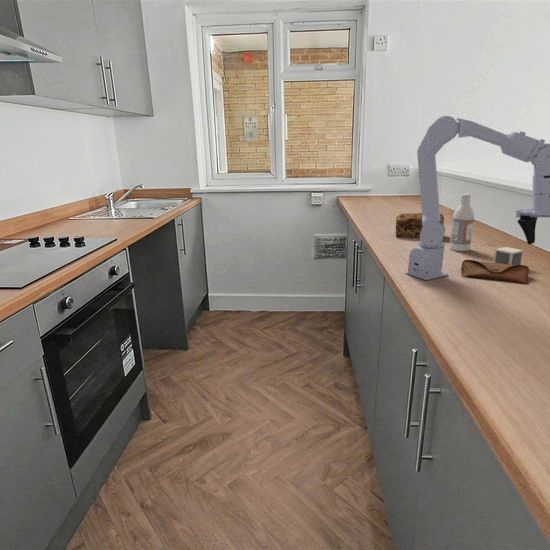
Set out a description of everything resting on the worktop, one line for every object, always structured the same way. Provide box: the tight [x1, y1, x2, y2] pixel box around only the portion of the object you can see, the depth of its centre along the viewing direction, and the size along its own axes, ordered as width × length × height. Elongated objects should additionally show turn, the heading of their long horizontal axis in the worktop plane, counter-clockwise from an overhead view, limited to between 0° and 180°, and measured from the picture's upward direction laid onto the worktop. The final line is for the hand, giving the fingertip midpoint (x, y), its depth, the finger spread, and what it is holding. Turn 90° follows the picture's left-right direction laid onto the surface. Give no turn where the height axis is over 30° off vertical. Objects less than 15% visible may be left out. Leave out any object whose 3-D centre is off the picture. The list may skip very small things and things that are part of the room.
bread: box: [395, 212, 445, 239], centre depth 170 cm, size 19×11×10 cm, turn 69°
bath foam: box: [448, 193, 475, 252], centre depth 147 cm, size 7×7×20 cm
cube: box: [492, 246, 524, 265], centre depth 128 cm, size 6×6×6 cm
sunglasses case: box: [460, 259, 530, 285], centre depth 119 cm, size 18×7×7 cm
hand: (545, 244), depth 108 cm, fingers open, 7 cm apart
